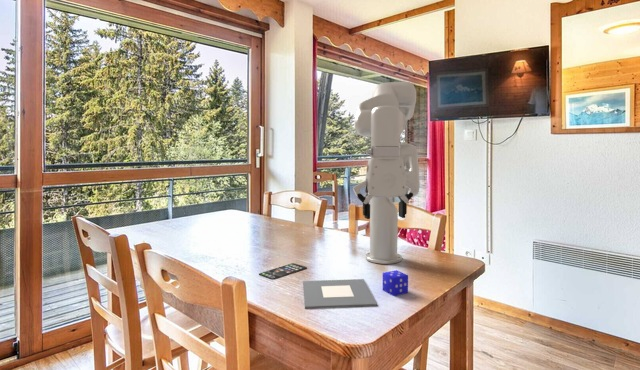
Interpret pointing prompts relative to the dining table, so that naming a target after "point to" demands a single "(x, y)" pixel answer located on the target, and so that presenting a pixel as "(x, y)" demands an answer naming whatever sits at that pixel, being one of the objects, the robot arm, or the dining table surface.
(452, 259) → the dining table surface
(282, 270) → the smartphone
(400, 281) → the die
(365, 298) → the mat
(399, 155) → the robot arm
